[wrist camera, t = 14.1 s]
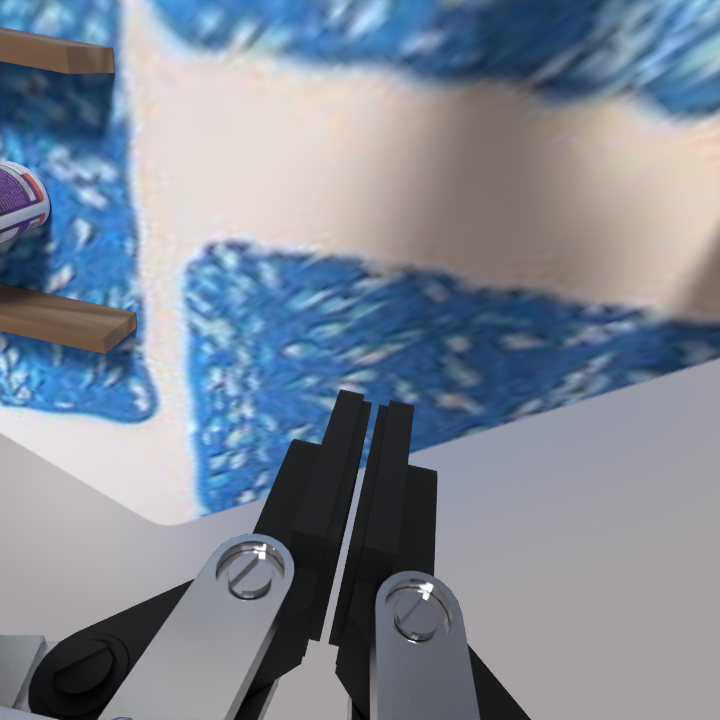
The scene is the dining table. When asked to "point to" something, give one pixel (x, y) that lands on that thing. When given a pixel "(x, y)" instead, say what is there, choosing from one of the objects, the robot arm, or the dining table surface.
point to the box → (37, 309)
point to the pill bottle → (20, 200)
